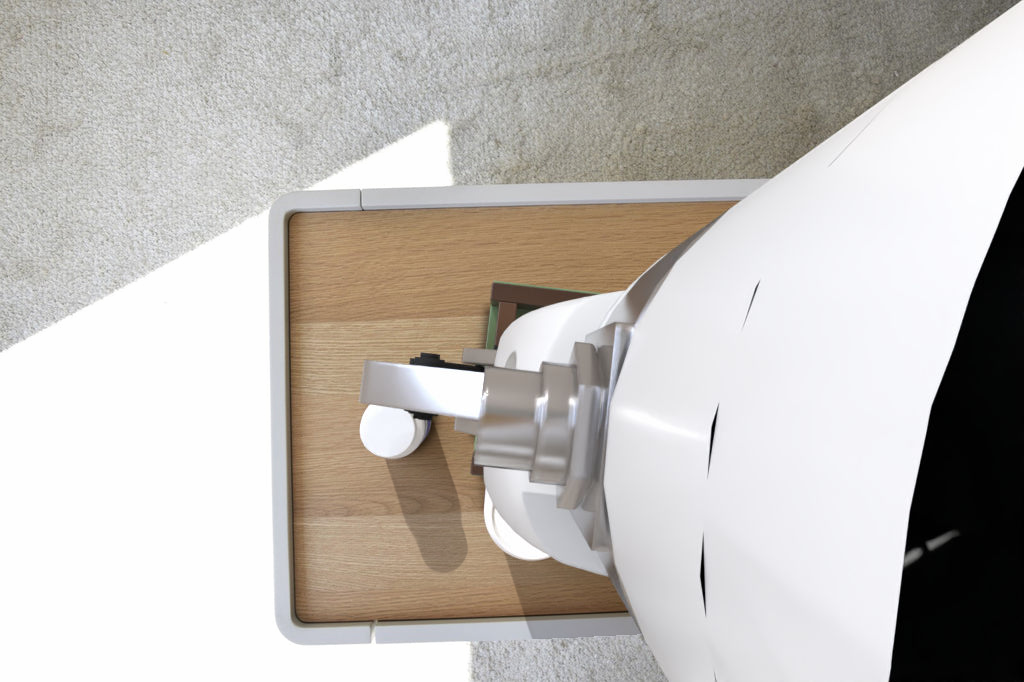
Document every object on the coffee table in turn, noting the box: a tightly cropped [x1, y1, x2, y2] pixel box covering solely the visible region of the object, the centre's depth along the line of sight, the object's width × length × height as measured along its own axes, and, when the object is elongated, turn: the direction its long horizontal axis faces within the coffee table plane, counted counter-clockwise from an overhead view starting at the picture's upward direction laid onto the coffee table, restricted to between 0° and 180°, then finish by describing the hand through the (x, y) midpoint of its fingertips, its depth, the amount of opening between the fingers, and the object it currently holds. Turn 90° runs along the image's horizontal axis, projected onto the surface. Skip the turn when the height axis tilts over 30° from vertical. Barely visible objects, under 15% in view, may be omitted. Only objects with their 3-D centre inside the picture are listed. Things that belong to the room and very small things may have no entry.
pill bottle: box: [359, 404, 432, 460], centre depth 60 cm, size 6×6×10 cm
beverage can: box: [483, 488, 552, 562], centre depth 59 cm, size 8×8×12 cm
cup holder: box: [469, 280, 605, 477], centre depth 38 cm, size 12×12×4 cm
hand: (617, 403), depth 26 cm, fingers open, 9 cm apart
